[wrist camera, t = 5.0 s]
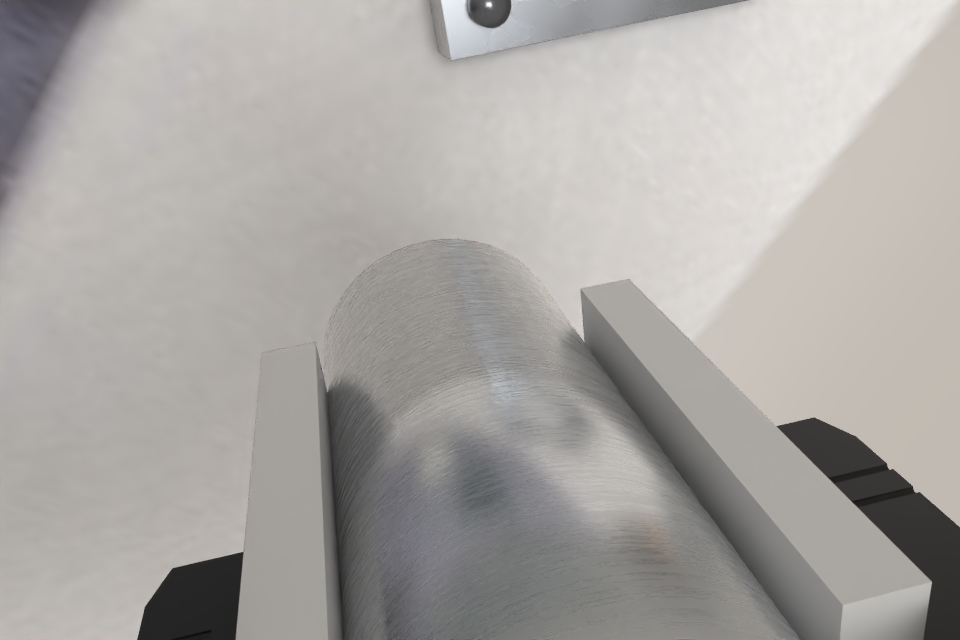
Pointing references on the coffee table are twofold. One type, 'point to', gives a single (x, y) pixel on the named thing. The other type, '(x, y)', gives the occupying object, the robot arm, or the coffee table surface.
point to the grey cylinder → (507, 473)
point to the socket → (540, 20)
